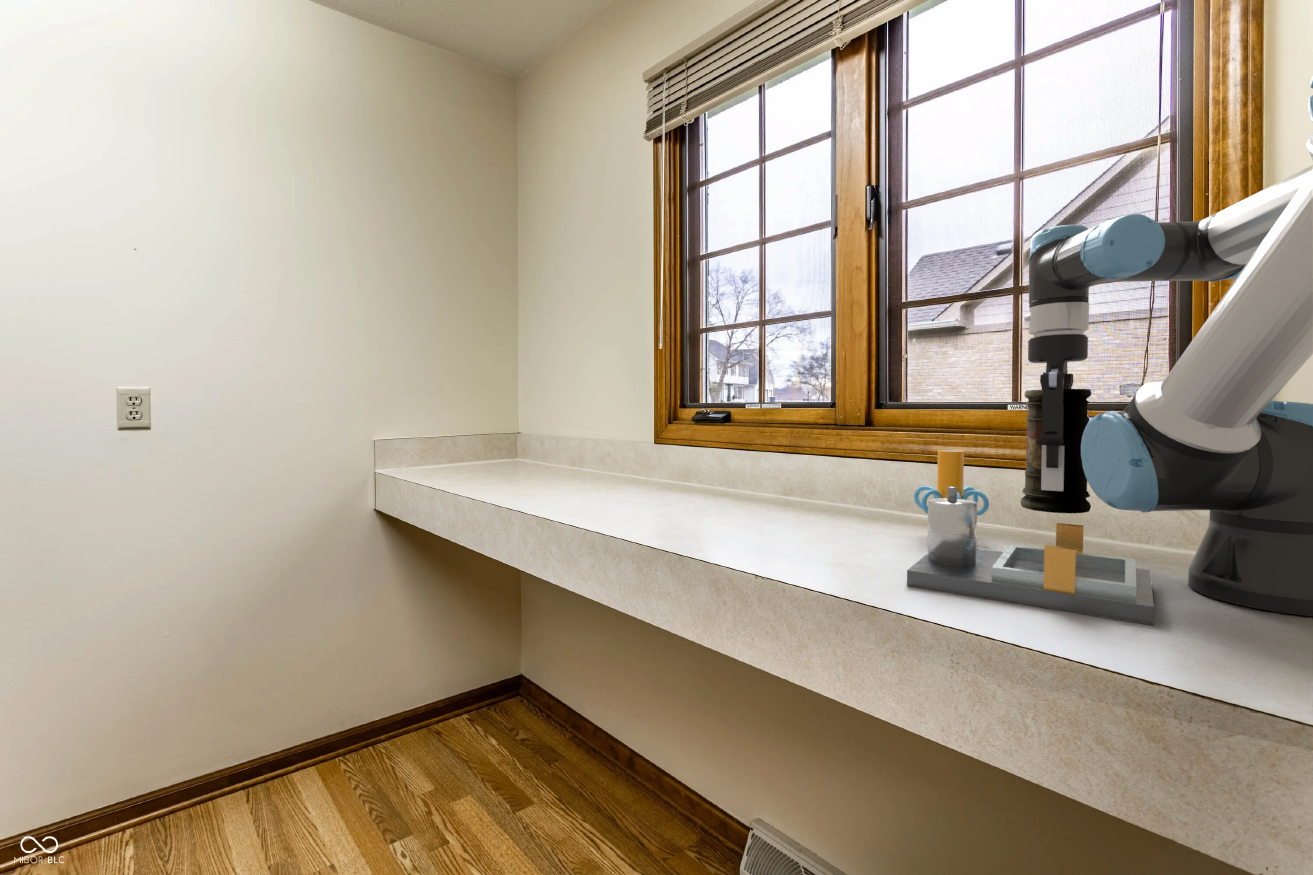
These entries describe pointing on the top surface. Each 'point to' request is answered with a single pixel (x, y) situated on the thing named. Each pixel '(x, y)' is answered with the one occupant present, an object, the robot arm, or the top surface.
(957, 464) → the orange cylinder with loops
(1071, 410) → the container
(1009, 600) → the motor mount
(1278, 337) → the robot arm
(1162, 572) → the top surface
